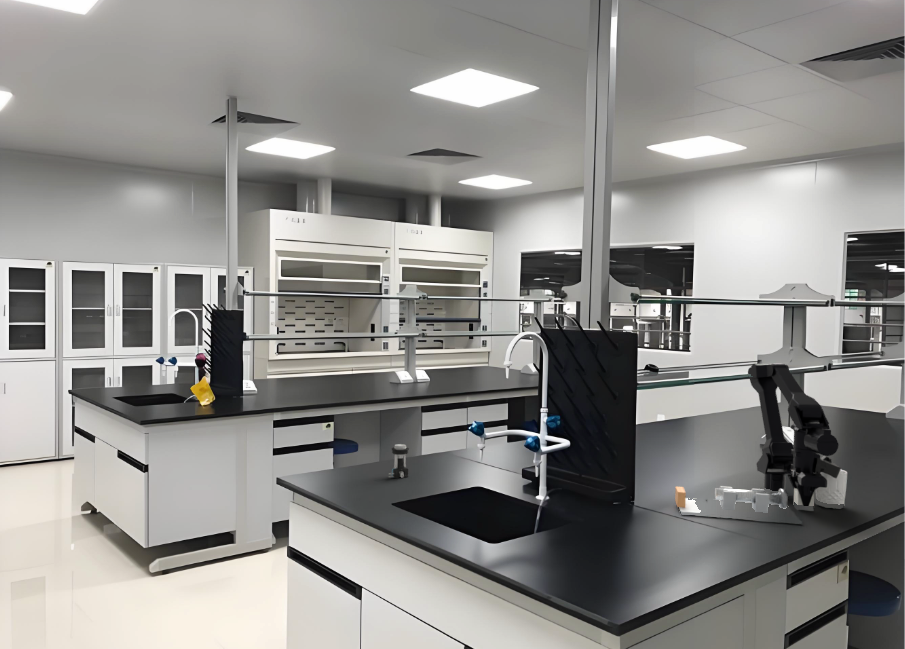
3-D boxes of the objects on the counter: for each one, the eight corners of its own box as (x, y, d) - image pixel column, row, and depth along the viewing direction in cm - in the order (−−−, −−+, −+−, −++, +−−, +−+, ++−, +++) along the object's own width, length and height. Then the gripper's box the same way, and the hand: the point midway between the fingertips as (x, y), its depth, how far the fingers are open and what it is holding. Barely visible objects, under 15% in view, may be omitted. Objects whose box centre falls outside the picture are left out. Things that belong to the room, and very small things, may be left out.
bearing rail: (673, 500, 188) (674, 479, 188) (787, 509, 181) (788, 487, 181) (678, 515, 174) (679, 492, 174) (802, 525, 168) (802, 501, 168)
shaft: (714, 500, 181) (714, 482, 181) (782, 505, 178) (782, 486, 177) (717, 505, 177) (717, 486, 176) (787, 511, 173) (787, 491, 173)
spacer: (793, 506, 185) (794, 488, 185) (809, 507, 184) (809, 489, 184) (797, 510, 181) (798, 492, 181) (813, 511, 180) (814, 493, 180)
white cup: (846, 505, 187) (847, 469, 187) (846, 512, 180) (847, 475, 180) (814, 500, 191) (815, 465, 191) (813, 507, 184) (814, 471, 184)
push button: (392, 480, 204) (393, 448, 204) (384, 476, 209) (384, 444, 209) (411, 477, 208) (412, 445, 208) (402, 474, 213) (403, 442, 212)
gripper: (850, 457, 171) (848, 517, 171) (826, 443, 189) (825, 498, 190) (802, 454, 174) (800, 514, 174) (784, 441, 192) (782, 495, 192)
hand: (803, 505), depth 182 cm, fingers closed on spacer, 4 cm apart
